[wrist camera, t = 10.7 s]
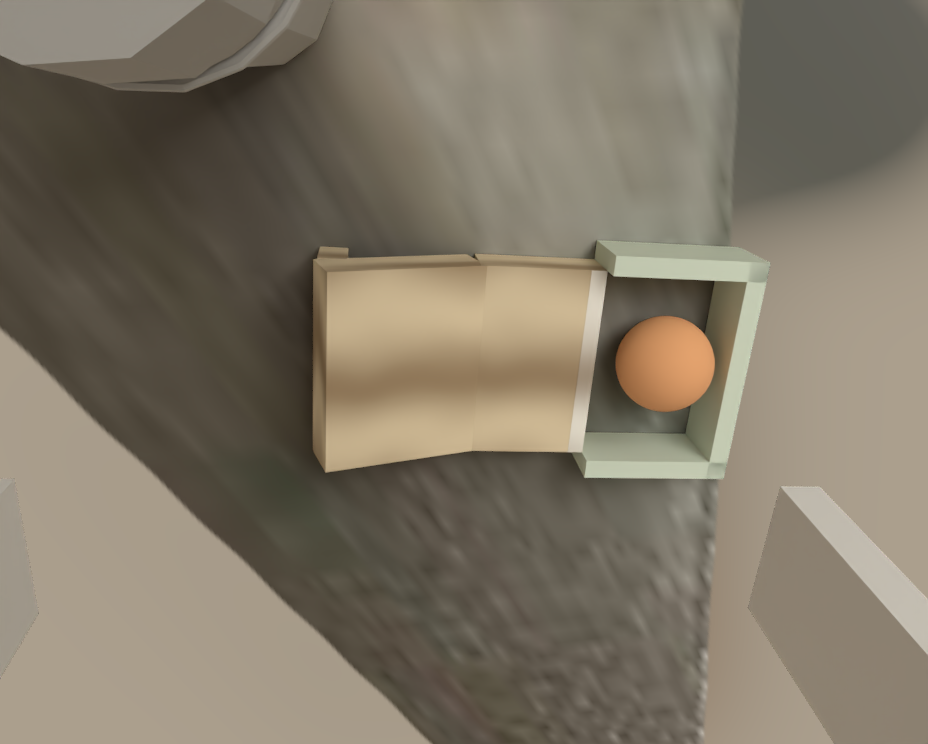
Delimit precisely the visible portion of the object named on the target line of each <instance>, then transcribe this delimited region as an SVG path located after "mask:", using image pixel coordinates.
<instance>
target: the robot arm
mask: <svg viewBox="0 0 928 744" xmlns="http://www.w3.org/2000/svg"><path fill="white" fill-rule="evenodd" d="M748 609H749V610H750V612H751V613H752V615H753V617H754V618H755V620H756V621H757V623H758V624H759V626H760V627H761V629H762V631H763V632H764V634H765V635H766V637H767V639H768V640H769V642H770V643H771V645H772V647H773V648H774V649H775V651H776V653H777V654H778V656H779V658H780V659H781V661H782V662H783V664H784V665H785V667H786V669H787V670H788V672H789V673H790V675H791V676H792V678H793V679H794V681H795V683H796V684H797V686H798V687H799V689H800V690H801V692H802V694H803V695H804V697H805V699H806V700H807V701H808V703H809V705H810V706H811V708H812V709H813V711H814V713H815V714H816V716H817V717H818V719H819V720H820V722H821V724H822V725H823V727H824V728H825V730H826V732H827V733H828V735H829V736H830V738H831V739H832V741H833V743H834V744H928V599H927V598H926V597H925V596H924V595H923V594H922V593H921V592H920V590H919V589H918V588H917V587H916V586H915V585H914V584H913V583H912V582H911V581H910V580H909V579H908V578H907V577H906V576H905V575H904V574H903V573H902V572H901V571H900V570H899V569H898V568H897V567H896V566H895V564H894V563H893V562H891V560H890V559H889V558H888V557H887V556H886V555H885V554H884V553H883V552H882V551H881V550H880V549H879V548H878V547H877V546H876V545H875V544H874V543H873V542H872V541H871V539H870V538H869V537H867V535H866V534H865V533H864V532H863V531H862V530H861V529H860V528H859V527H858V526H857V525H856V524H855V523H854V522H853V521H852V520H851V519H850V518H849V517H848V516H847V515H846V513H845V512H844V511H843V510H842V509H841V508H840V507H839V506H838V505H837V504H836V503H835V502H834V501H833V500H832V499H831V498H830V497H829V496H828V495H827V494H826V493H825V492H824V491H823V490H822V489H821V487H794V486H792V487H790V486H787V487H786V486H780V489H779V493H778V496H777V500H776V504H775V508H774V511H773V515H772V519H771V523H770V526H769V530H768V534H767V538H766V541H765V545H764V549H763V553H762V556H761V561H760V564H759V568H758V571H757V575H756V579H755V583H754V586H753V590H752V594H751V598H750V601H749V605H748ZM38 614H39V612H38V607H37V601H36V595H35V590H34V584H33V579H32V573H31V567H30V562H29V556H28V551H27V545H26V540H25V535H24V529H23V523H22V518H21V512H20V506H19V502H18V495H17V490H16V485H15V479H14V478H0V678H1V677H2V675H3V673H4V672H5V670H6V668H7V667H8V665H9V663H10V661H11V660H12V658H13V656H14V655H15V653H16V651H17V650H18V648H19V646H20V644H21V643H22V641H23V640H24V638H25V636H26V634H27V633H28V631H29V629H30V627H31V626H32V624H33V623H34V621H35V619H36V617H37V616H38Z"/></svg>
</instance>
